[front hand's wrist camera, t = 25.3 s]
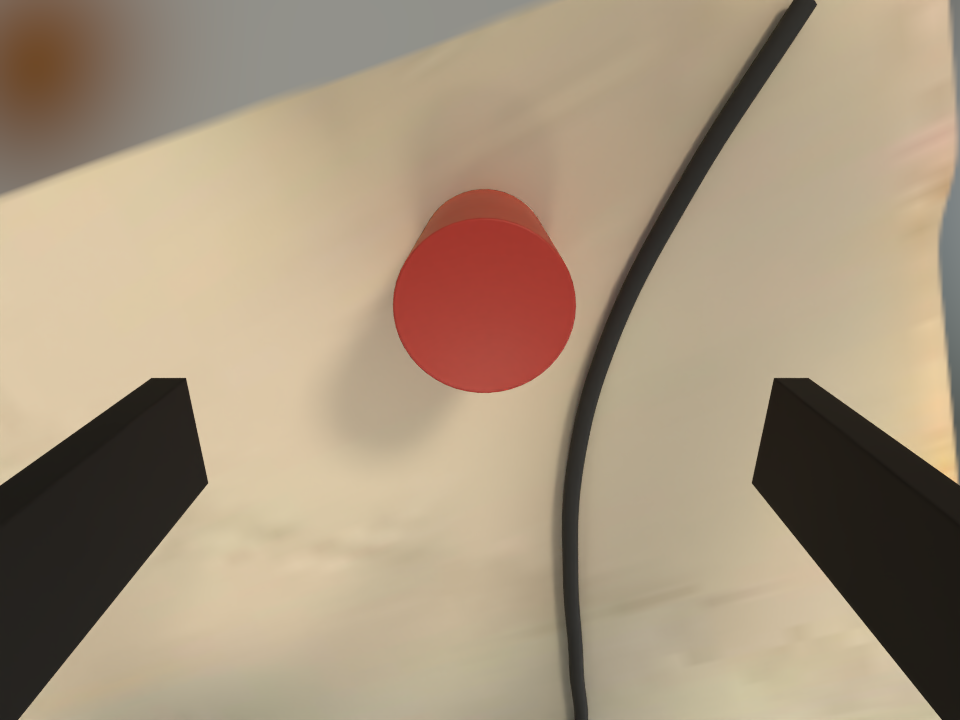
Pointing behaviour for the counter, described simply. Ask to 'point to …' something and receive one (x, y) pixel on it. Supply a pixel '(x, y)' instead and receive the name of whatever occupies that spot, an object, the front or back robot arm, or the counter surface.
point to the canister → (484, 295)
